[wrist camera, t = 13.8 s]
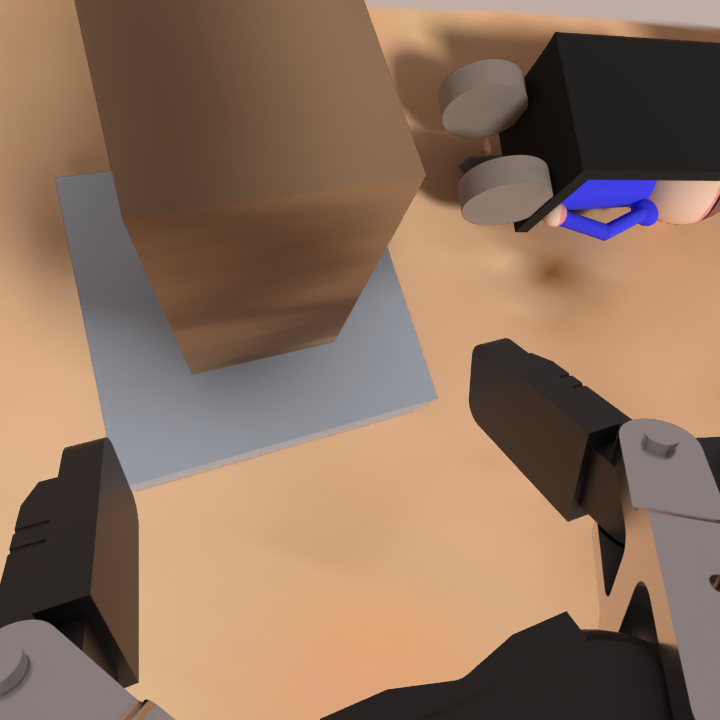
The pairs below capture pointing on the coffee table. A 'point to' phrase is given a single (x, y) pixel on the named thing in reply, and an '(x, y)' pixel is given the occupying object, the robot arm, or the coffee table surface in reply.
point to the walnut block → (251, 163)
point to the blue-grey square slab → (229, 384)
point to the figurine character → (591, 133)
